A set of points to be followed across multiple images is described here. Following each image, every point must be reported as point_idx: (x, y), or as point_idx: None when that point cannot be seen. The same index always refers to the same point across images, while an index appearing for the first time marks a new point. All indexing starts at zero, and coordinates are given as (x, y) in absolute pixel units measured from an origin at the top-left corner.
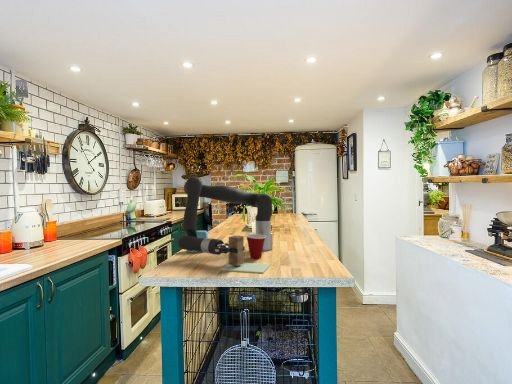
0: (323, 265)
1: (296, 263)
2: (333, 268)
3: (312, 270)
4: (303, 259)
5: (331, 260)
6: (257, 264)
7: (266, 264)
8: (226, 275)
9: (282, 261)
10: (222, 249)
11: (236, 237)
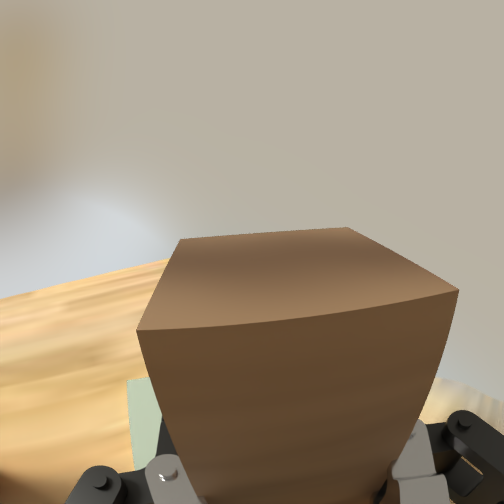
0: (93, 290)
1: (74, 332)
2: (120, 276)
3: (154, 290)
4: (20, 331)
5: (40, 292)
6: (156, 429)
7: (137, 393)
8: (446, 417)
9: (44, 371)
10: (480, 483)
11: (341, 235)
